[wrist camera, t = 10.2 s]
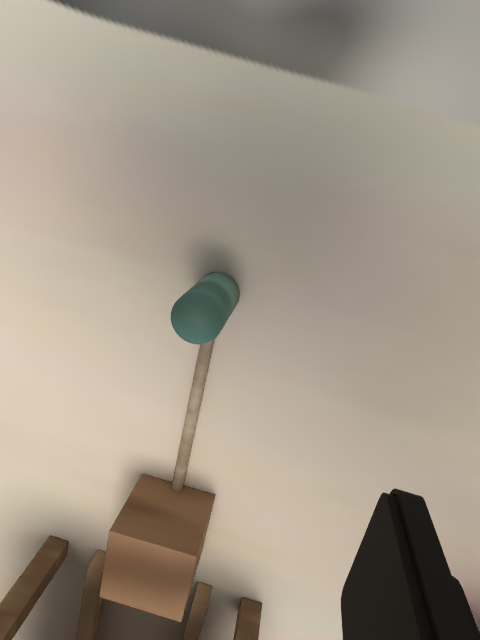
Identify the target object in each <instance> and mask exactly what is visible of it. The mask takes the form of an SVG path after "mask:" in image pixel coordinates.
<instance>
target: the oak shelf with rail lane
mask: <svg viewBox="0 0 480 640" xmlns="http://www.w3.org/2000/svg"><path fill="white" fill-rule="evenodd" d="M67 548H68V541H65V540H62V539H59V538H55V537H52V536H50V537H49V538H48V540H47V541H46V542H45V544H44V545H43V546H42V548H41V549H40V550H39V552H38V553H37V554H36V556H35V557H34V558H33V560H32V561H31V563H30V564H29V565H28V567H27V568H26V569H25V571H24V572H23V573H22V575H21V576H20V577H19V579H18V580H17V581H16V583H15V584H14V586H13V587H12V588H11V590H10V591H9V592H8V594H7V595H6V596H5V598H4V599H3V600H2V602H1V603H0V640H12V639H13V637H14V636H15V634H16V633H17V631H18V629H19V628H20V626H21V625H22V623H23V622H24V620H25V619H26V617H27V616H28V614H29V613H30V611H31V610H32V608H33V607H34V605H35V603H36V602H37V600H38V599H39V597H40V596H41V594H42V593H43V591H44V590H45V588H46V587H47V585H48V584H49V582H50V581H51V579H52V577H53V576H54V574H55V573H56V571H57V570H58V568H59V567H60V565H61V564H62V562H63V561H64V559H65V558H66V555H67ZM105 557H106V552H103V551H100V550H98V551H97V553H96V554H95V556H94V558H93V560H92V561H91V563H90V565H89V567H88V568H87V574H86V580H85V586H84V592H83V598H82V604H81V611H80V617H79V623H78V629H77V635H76V640H96V635H97V629H98V624H99V618H100V613H101V607H102V602H103V598H101V597H99V596H100V590H101V583H102V577H103V570H104V563H105ZM211 589H212V586H209V585H206V584H203V583H200V582H198V586H197V589H196V593H195V596H194V600H193V604H192V607H191V611H190V615H189V618H188V622H187V626H186V629H185V633H184V636H183V640H198V637H199V634H200V630H201V627H202V623H203V620H204V616H205V613H206V609H207V606H208V602H209V597H210V593H211ZM261 609H262V603H259V602H256V601H253V600H249V599H246V598H242V601H241V604H240V607H239V610H238V615H237V621H236V627H235V634H234V640H258V636H259V627H260V618H261Z"/></svg>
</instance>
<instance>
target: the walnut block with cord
mask: <svg viewBox="0 0 480 640" xmlns="http://www.w3.org/2000/svg"><path fill="white" fill-rule="evenodd" d="M238 300H239V288H238V285H237V283H236V282H235V280H234V279H233V278H232V277H230V276H229V275H227V274H225V273H221V272H214V273H210V274H208V275H206V276H205V277H204V278H202V279H201V280H200V281H199V282H198V283H197V284H195V285H194V286H193V287H192V288H191V289H190V290H189V291H187V292H186V293H185V294H184V295H183V296H182V297H180V298H179V299H178V300H177V301H176V303H175V304H174V306H173V308H172V311H171V322H172V326H173V328H174V330H175V332H176V333H177V334H178V335H179V336H180V337H181V338H182V339H183V340H185V341H187V342H189V343H193V344H200V349H199V354H198V359H197V364H196V369H195V374H194V379H193V384H192V389H191V394H190V399H189V404H188V409H187V414H186V419H185V423H184V428H183V433H182V438H181V443H180V448H179V453H178V458H177V463H176V468H175V473H174V478H173V483H172V482H168V481H165V480H161V479H158V478H154V477H151V476H147V475H144V474H142V475H141V477H140V479H139V480H138V482H137V484H136V486H135V487H134V489H133V491H132V493H131V494H130V496H129V498H128V499H127V501H126V503H125V505H124V506H123V508H122V510H121V512H120V513H119V515H118V517H117V519H116V520H115V522H114V524H113V526H112V527H111V529H110V531H109V537H108V544H107V550H106V557H105V563H104V570H103V577H102V583H101V590H100V596H99V597H101V598H104V599H108V600H111V601H114V602H117V603H120V604H124V605H127V606H130V607H133V608H136V609H140V610H143V611H146V612H149V613H153V614H156V615H159V616H162V617H165V618H169V619H172V620H175V621H178V622H181V621H182V618H183V615H184V611H185V608H186V604H187V601H188V597H189V594H190V590H191V587H192V583H193V580H194V577H195V573H196V570H197V566H198V563H199V559H200V556H201V552H202V548H203V544H204V540H205V536H206V532H207V527H208V523H209V519H210V515H211V511H212V507H213V503H214V499H215V495H213V494H210V493H206V492H203V491H199V490H196V489H193V488H189V487H186V486H183V484H184V479H185V474H186V469H187V465H188V460H189V455H190V451H191V446H192V441H193V436H194V432H195V427H196V422H197V418H198V413H199V408H200V403H201V399H202V394H203V389H204V385H205V380H206V375H207V370H208V366H209V361H210V356H211V352H212V347H213V342H214V339H215V338H216V337H217V336H218V335H219V333H220V331H221V330H222V328H223V326H224V325H225V323H226V321H227V320H228V318H229V316H230V315H231V313H232V311H233V310H234V308H235V306H236V305H237V303H238Z"/></svg>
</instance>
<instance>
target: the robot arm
mask: <svg viewBox="0 0 480 640" xmlns="http://www.w3.org/2000/svg"><path fill="white" fill-rule="evenodd" d="M341 614H342V630H343V640H480V634H479V631H478V628H477V626H476V623H475V620H474V618H473V615H472V612H471V610H470V607H469V604H468V602H467V599H466V596H465V594H464V591H463V588H462V587H461V585H460V583H459V581H458V580H457V579H456V578H455V577H453V576H452V575H451V573H450V570H449V567H448V564H447V561H446V559H445V556H444V553H443V550H442V547H441V545H440V542H439V539H438V536H437V534H436V531H435V528H434V525H433V522H432V520H431V517H430V514H429V511H428V509H427V506H426V503H425V501H424V499H423V497H421V496H418V495H415V494H412V493H408V492H405V491H402V490H398V489H393V490H392V491H391V492H390V494H387V493H382V494H381V496H380V498H379V500H378V503H377V505H376V508H375V510H374V513H373V515H372V518H371V520H370V523H369V525H368V528H367V530H366V532H365V535H364V537H363V540H362V542H361V545H360V547H359V550H358V552H357V555H356V557H355V560H354V562H353V565H352V567H351V569H350V572H349V574H348V577H347V579H346V582H345V584H344V587H343V591H342V597H341Z"/></svg>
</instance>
